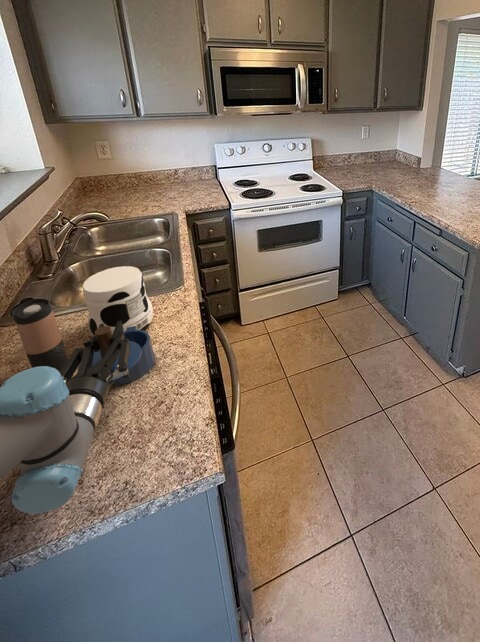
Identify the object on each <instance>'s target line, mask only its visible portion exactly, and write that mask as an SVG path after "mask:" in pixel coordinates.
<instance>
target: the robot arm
mask: <svg viewBox="0 0 480 642" xmlns="http://www.w3.org/2000/svg"><path fill="white" fill-rule="evenodd" d="M100 327H104V324H100V325H99V328H100ZM99 328H98V329H99ZM123 330H124V329H123V325H122V321H118V322H117V324H116V327H115V329H114V332H113V334H112V337H111V341H112V344H111V346H110V347H109V349H108V351H107V352H106V354H105V356H104V357H103V359H102V360H100V361H99V362H98V364H97V366H95V367H91V366H92V361H93V355H94V352H98V351H99V347H98V343H97V340H96V336H93V335H92V336H91V337H90V338H89V340H86V341H85V342H83V346H84V347H76V348H75V349H73V351H72V352H71V354H70V356H69V357H68V358H67V359H68V360H67V362H66V363H65V365H64V367H63V368H62V370H61V371H60V372H59V371H58V370H57V369H55V368H52V367H48V366H40V367H34V368H32V367H30V368H27V369H25V370H21V371H20V372H17V373H16V374H13V375H12V376H10V377H8V379H6V380H5V381H3V383H2V384H1V386H0V480H1V479H3V478H4V477H6V475H7V474H9V473H10V472H11V471H12V470H13V469H14V468H15V467H17V466H18V465H19V466H20V474H19V476H18V478H17V479H16V480H15V484H14V488H13V489H12V494H11V503H12V505H13V506H14V508H15V509H16V510H18V511H20V512H22V513H25V514H30V515H31V514H32V515H40V514H45V513H48V512H52V511H55V510H57V509H59V508H60V507H62V506H63V505H65V504H66V503H67V502H68V501H69V500H70V499H71V498H72V496H73V495H74V492H75V491H76V488H77V486H78V483H79V480H80V478H81V476H82V475H83V472H84V466H85V463H86V460H87V457H88V454H89V451H90V449H91V446H92V445H91V444H92V442H93V438H94V435H95V432H96V430H97V427H98V425H99V421H100V417H101V415H102V411H103V409H104V406H105V403H106V400H107V397H108V393H109V389H110V387H111V386H112V385H114V384H113V382H114V380H115V379H117V378H119V377H121V376H122V378H127V377H128V376H129V372H128V368H127V366H128V360H129V354H130V344H129V340H128V338H125V335H124V332H123ZM124 338H125V339H124ZM93 351H94V352H93ZM119 353H120V354H119ZM118 355H119V358H118V365H117V366H116V369H115V372H114V373H111V372H110V369H111V367H112V365H113V364H114V362H115V360H116V358H117V356H118ZM80 363H81V365H80ZM78 367H79V368H78ZM75 372H76V374H75Z"/></svg>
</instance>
